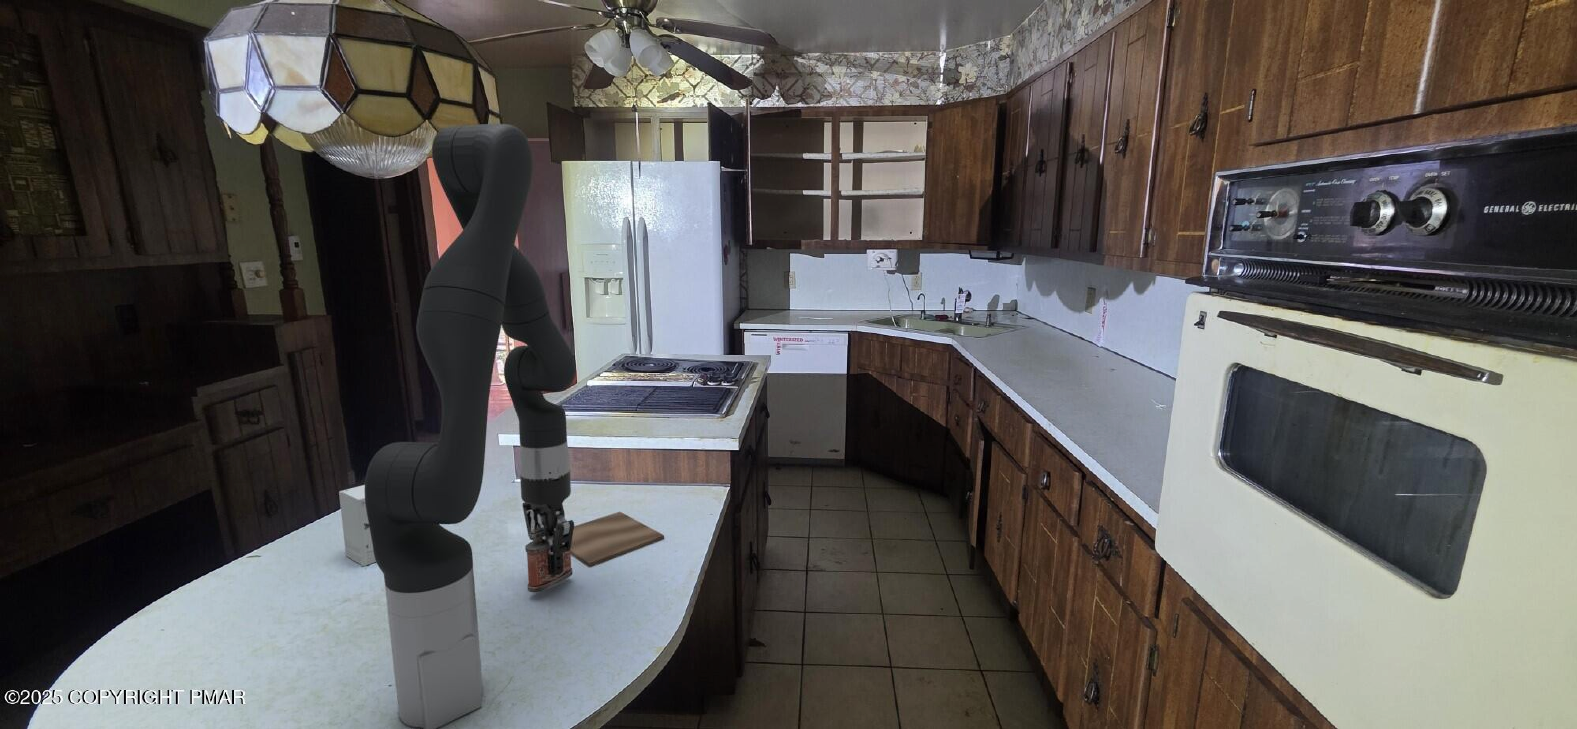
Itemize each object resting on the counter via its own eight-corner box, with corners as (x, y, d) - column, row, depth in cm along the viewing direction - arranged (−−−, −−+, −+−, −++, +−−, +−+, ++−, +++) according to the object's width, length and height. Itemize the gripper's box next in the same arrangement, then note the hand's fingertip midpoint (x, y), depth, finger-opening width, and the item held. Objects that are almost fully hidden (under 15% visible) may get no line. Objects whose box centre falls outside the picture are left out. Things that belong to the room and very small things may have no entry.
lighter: (563, 569, 109) (561, 514, 107) (577, 574, 107) (574, 518, 105) (523, 589, 102) (519, 530, 100) (536, 595, 100) (533, 535, 98)
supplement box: (363, 567, 111) (356, 499, 109) (345, 556, 115) (337, 490, 113) (407, 551, 117) (401, 487, 115) (388, 541, 121) (382, 478, 119)
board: (664, 539, 123) (664, 535, 123) (589, 567, 112) (589, 563, 112) (620, 515, 134) (619, 511, 134) (547, 538, 123) (547, 534, 123)
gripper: (503, 464, 103) (509, 562, 106) (542, 486, 94) (547, 593, 96) (547, 455, 109) (552, 548, 111) (588, 474, 99) (592, 576, 102)
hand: (550, 568), depth 104 cm, fingers closed on lighter, 3 cm apart
